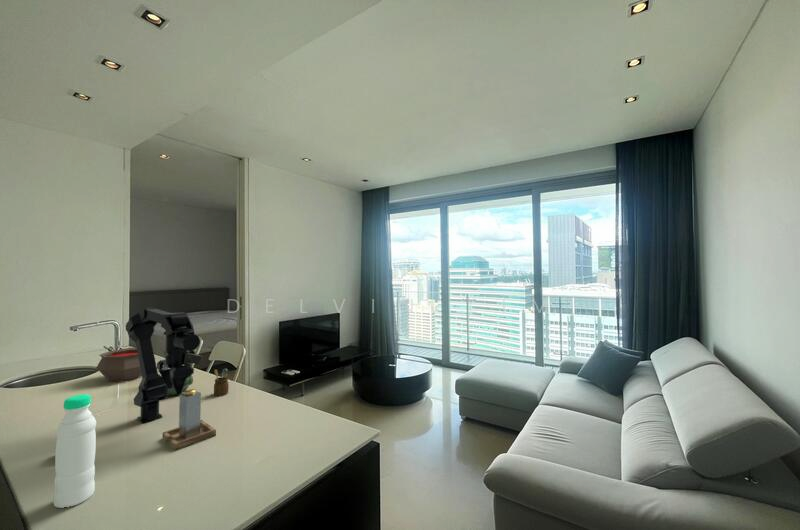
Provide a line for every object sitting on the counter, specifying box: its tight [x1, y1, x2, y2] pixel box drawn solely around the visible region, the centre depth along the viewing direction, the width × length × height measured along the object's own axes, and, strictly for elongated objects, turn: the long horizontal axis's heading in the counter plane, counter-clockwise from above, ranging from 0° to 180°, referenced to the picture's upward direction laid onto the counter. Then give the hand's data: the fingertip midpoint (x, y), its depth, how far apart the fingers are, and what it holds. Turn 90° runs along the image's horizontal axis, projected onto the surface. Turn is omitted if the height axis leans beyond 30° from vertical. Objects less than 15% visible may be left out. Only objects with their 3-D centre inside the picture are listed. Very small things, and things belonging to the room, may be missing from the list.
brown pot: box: [95, 346, 142, 383], centre depth 172 cm, size 24×24×16 cm
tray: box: [162, 419, 217, 452], centre depth 109 cm, size 12×12×2 cm
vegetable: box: [166, 374, 194, 397], centre depth 150 cm, size 12×13×15 cm
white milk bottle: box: [53, 393, 97, 509], centre depth 79 cm, size 7×7×25 cm
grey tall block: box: [178, 388, 202, 439], centre depth 110 cm, size 4×4×15 cm
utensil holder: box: [213, 368, 230, 397], centre depth 149 cm, size 6×6×12 cm
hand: (174, 391), depth 116 cm, fingers open, 9 cm apart
